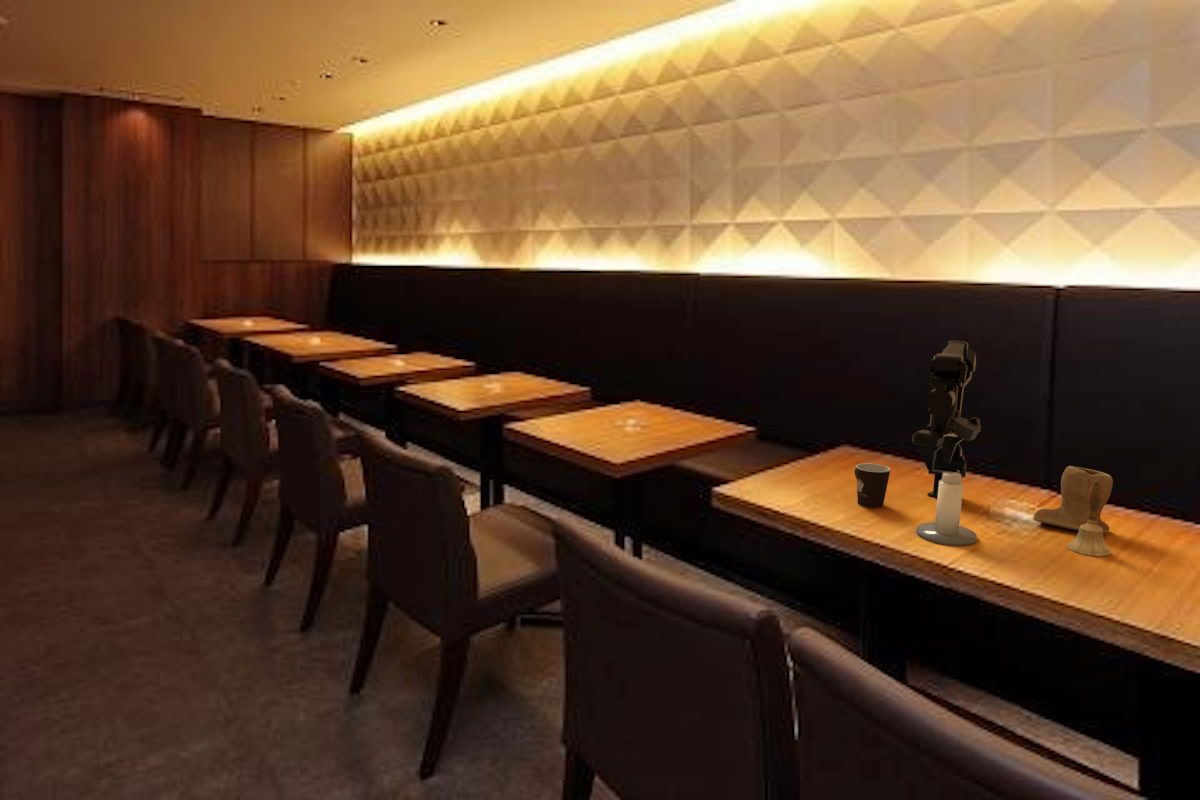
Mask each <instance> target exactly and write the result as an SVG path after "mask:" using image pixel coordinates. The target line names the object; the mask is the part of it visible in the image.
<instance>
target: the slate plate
mask: <svg viewBox="0 0 1200 800" xmlns="http://www.w3.org/2000/svg"><path fill="white" fill-rule="evenodd" d="M915 533H916V535H917V536H918V537H920V538H922V539H923V540H925V541H928V542H932V543H935V544H937V545H939V544H940V545H946V546H952V547H953V546H955V547H957V546H958V547H959V546H960V547H962V546H965V547H966V546H970V545H973V544H975V543H976V542H977V538H978V535H977V533H976V532H975V531H974V530H971V529H969V527H965V526H963V525H959V534H958V535H943V534H939V533H937V532H935V521H933V522H931V521H930V522H924V523H920V524H918V525H917V526H916V530H915Z"/></svg>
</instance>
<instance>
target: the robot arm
mask: <svg viewBox="0 0 1200 800" xmlns="http://www.w3.org/2000/svg"><path fill="white" fill-rule="evenodd" d="M976 355H977V353H976V352H975V351H974V350H973V349H972V348H971V347H969V342H966V341H964V340H963V341H962V340H948V341H947V342H946V347H945V348H944V349H942V350H941V353H936V354H935V355H934V356H933V358H931V359H930V363H929V368H928V372H927V373H928V374H927V379H926V380H927V381H926V385H933V386H932V390H931V391H930V393H928V395H927V397H926V400H925V401H926V405H927V407H928V408H927V414H930V420H929V424H926V427H925V429H921V430H918V431H916V432H914V433H913V434H912V437H911V438H912V441H911V443H913V444H914V445H915V446H916V447H917V449H918V451H919V453H920V454H921V455H920V456H921V457H922V459H923V462H924V463H925V466H926V469H927V471H928V472H927V473H928V475H934V476H933V485H932V486H933V487H932V491H930V492H927V496H929V497H934V498H938V487H939V480H942V474H943V472H956V473H959V474H961V479H962V478H965V477H966V472H967V461H966V460H965V456H964V455H963V449H962V447H961V445H960V442H962V441H963V440H964V441H965V442H970V441H972V440H976V438H977V435H978V434H979V433H981V431H982V429H981V428H982V426H981V419H980V418H978V417H975V416H974V417H972V418H970V419H968V418H963V417H961V412H962V405H963V397H964V389H965V387H966V385H967V384H968V383H969V382H970V381H971V380H972V377H973V373H975V371H976V366H977V356H976Z"/></svg>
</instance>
